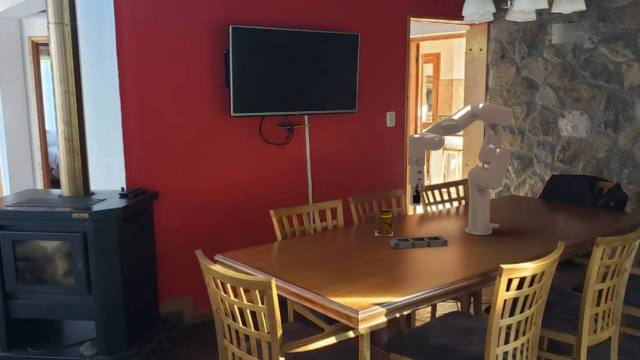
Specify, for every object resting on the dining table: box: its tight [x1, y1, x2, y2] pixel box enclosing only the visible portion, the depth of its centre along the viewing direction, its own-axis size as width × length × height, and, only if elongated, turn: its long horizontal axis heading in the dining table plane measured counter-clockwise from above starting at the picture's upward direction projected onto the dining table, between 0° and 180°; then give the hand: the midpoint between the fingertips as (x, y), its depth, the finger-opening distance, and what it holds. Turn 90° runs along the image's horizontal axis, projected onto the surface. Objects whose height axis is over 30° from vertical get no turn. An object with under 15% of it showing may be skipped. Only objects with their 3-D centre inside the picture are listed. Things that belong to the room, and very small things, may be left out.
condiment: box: [374, 208, 394, 237], centre depth 270 cm, size 7×8×12 cm
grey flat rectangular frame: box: [389, 235, 448, 250], centre depth 251 cm, size 24×8×2 cm, turn 98°
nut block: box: [409, 186, 422, 207], centre depth 254 cm, size 4×4×8 cm
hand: (415, 202), depth 255 cm, fingers closed on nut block, 4 cm apart
